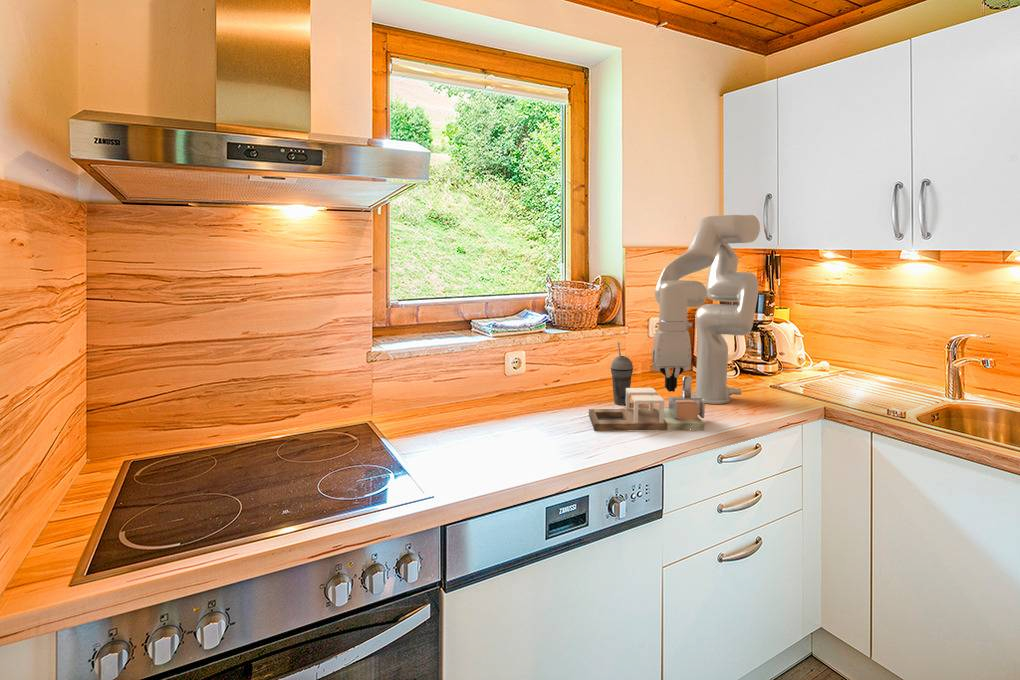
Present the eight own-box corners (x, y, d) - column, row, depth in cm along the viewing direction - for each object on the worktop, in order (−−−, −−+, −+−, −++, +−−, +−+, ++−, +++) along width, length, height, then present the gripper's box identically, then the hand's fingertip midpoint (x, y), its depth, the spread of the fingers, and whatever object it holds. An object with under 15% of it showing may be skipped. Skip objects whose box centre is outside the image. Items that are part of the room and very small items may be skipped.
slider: (696, 411, 163) (698, 373, 161) (704, 418, 156) (705, 379, 154) (668, 411, 163) (669, 374, 162) (674, 418, 156) (675, 379, 155)
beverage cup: (630, 407, 177) (632, 344, 174) (608, 405, 179) (608, 343, 176) (634, 401, 184) (635, 341, 180) (611, 399, 186) (612, 340, 183)
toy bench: (652, 408, 167) (652, 387, 166) (663, 423, 153) (664, 400, 152) (625, 409, 168) (625, 387, 167) (634, 423, 153) (634, 400, 152)
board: (688, 415, 167) (689, 408, 167) (703, 430, 153) (704, 423, 153) (588, 415, 168) (588, 409, 168) (594, 430, 154) (594, 423, 154)
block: (692, 412, 162) (692, 399, 162) (697, 418, 157) (698, 404, 156) (671, 413, 163) (671, 399, 162) (676, 418, 157) (676, 404, 157)
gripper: (695, 324, 159) (693, 387, 162) (643, 325, 160) (641, 387, 163) (703, 328, 152) (701, 393, 155) (648, 328, 152) (647, 394, 155)
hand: (670, 390), depth 159 cm, fingers closed
